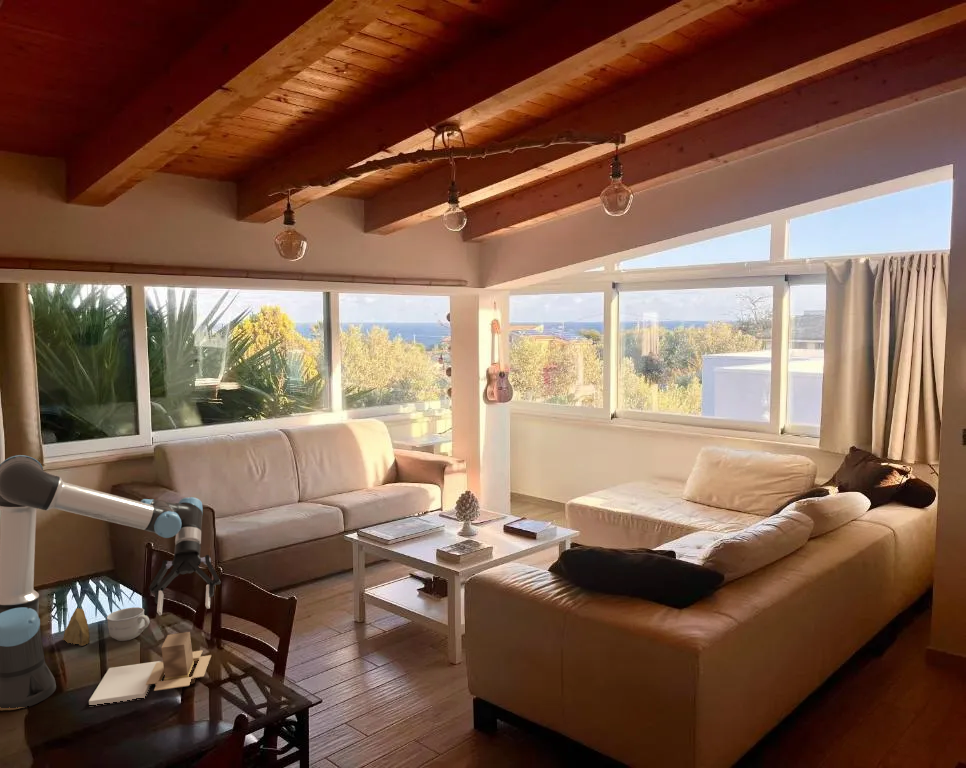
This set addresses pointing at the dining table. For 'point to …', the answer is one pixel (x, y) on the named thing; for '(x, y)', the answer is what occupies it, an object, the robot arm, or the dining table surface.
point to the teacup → (127, 623)
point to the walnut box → (177, 656)
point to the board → (123, 684)
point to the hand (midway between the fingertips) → (183, 610)
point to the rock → (77, 629)
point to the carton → (181, 682)
